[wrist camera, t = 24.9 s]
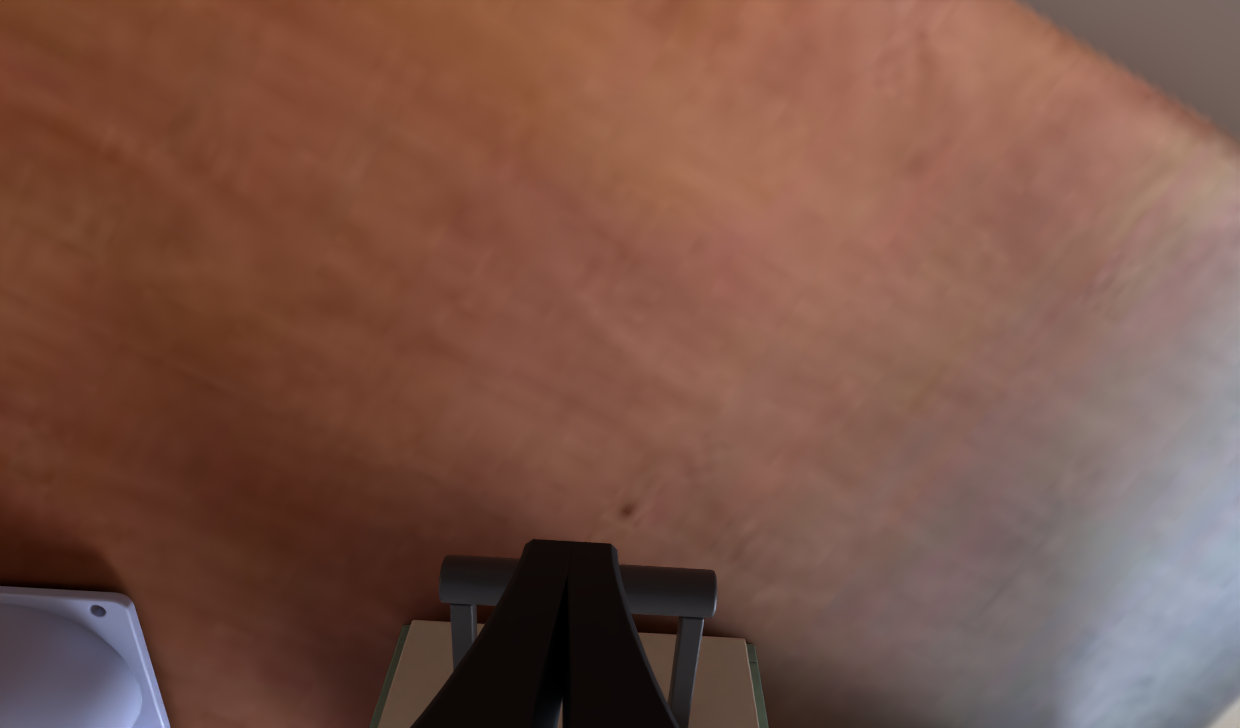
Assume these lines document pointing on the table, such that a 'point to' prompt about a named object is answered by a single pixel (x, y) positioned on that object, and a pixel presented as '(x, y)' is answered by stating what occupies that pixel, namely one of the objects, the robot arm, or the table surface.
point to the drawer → (683, 664)
